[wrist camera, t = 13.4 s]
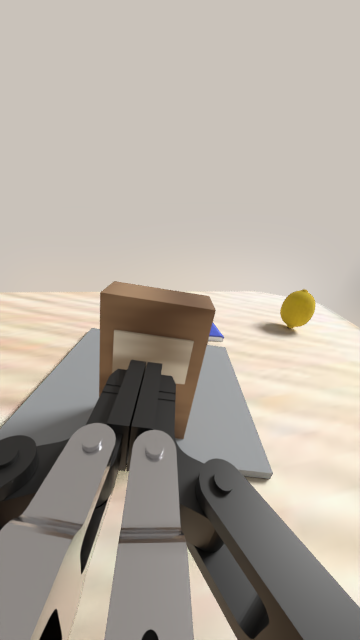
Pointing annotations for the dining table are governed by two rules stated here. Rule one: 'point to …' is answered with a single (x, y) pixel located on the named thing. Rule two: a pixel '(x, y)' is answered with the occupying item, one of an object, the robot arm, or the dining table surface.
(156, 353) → the brown cardboard box
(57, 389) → the grey mat
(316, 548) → the dining table surface
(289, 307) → the lemon
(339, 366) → the dining table surface
